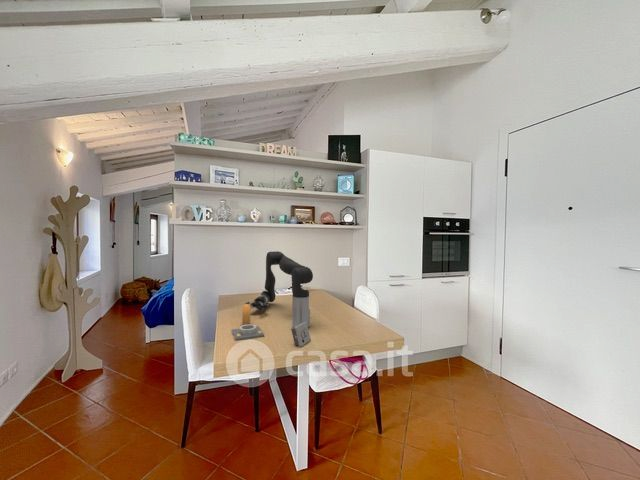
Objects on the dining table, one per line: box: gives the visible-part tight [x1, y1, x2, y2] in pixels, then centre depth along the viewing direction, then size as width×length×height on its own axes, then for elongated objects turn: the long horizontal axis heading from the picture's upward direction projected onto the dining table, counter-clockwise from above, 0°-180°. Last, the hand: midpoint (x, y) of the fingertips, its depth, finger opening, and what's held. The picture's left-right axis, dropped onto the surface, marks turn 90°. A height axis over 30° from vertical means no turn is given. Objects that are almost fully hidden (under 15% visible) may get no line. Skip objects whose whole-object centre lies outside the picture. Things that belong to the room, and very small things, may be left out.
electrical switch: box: [291, 322, 312, 348], centre depth 130 cm, size 9×5×9 cm, turn 152°
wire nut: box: [241, 303, 251, 326], centre depth 156 cm, size 4×4×11 cm
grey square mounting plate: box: [231, 323, 265, 342], centre depth 140 cm, size 14×14×4 cm
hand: (252, 308), depth 167 cm, fingers open, 8 cm apart
